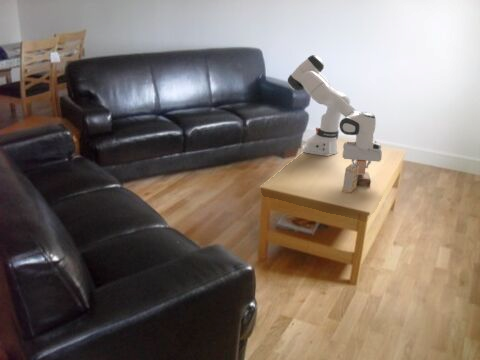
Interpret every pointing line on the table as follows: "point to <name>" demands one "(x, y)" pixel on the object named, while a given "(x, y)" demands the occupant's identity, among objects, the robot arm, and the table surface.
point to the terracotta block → (361, 166)
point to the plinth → (363, 179)
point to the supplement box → (350, 178)
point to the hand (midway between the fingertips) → (360, 167)
